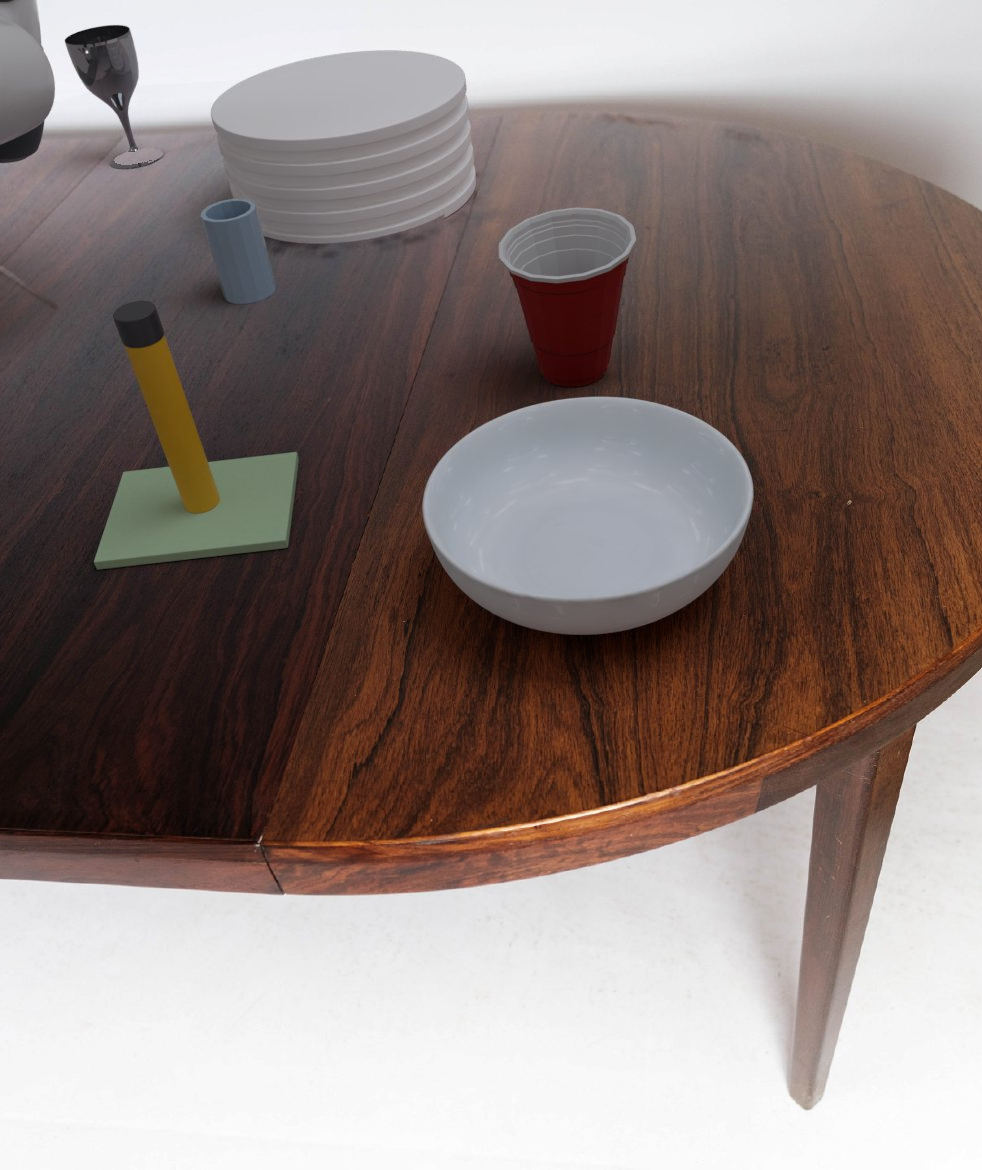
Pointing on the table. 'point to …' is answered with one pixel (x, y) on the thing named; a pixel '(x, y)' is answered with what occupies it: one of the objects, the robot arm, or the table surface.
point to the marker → (167, 403)
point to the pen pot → (239, 250)
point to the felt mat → (200, 514)
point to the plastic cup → (570, 287)
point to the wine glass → (108, 71)
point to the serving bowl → (588, 513)
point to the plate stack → (349, 144)
